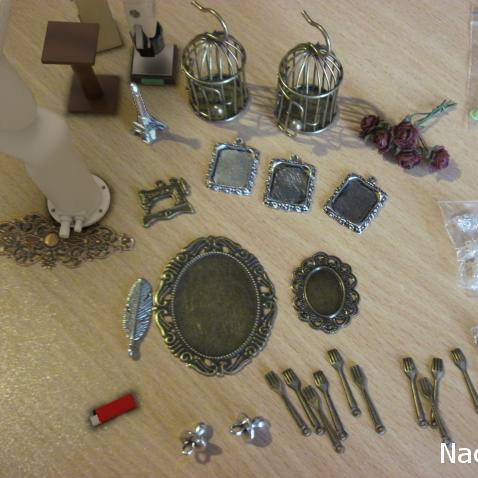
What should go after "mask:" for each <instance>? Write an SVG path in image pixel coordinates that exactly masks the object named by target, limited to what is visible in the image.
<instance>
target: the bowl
mask: <svg viewBox="0 0 478 478" xmlns="http://www.w3.org/2000/svg"><path fill="white" fill-rule="evenodd" d="M142 31H143V30H142ZM129 37H130V39H131V43H132V47H133V46H134V48H135V49H136V51H137V52H139V50H138V48H137V47H136V36H135V37H134V36H133V35H132V34H131V32H130V31H129ZM143 41H144V42H147V39H146V37H143ZM150 42H151V43H152V45H153V48H154V52H155V55H158V54H159V53H161V52H162V51H163V49H164V47H165V44H166V36H165V32H164V27H163V26H162V24H161V23H160V21H159V20H157V25H156V33H155V36H154V37H153V38H150Z"/></svg>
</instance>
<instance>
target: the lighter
mask: <svg viewBox="0 0 478 478" xmlns="http://www.w3.org/2000/svg"><path fill="white" fill-rule="evenodd" d="M136 407H137V405H136V402H135V399H134V397H133V394H132V393H131V392H130V393H128V394H126V395H124V396H121V397H119V398H117V399H115V400H112V401H110V402H108V403H106V404H104V405H101V406H99V407H98V408H95V409H93V410H92V415H91V416H90V417H89V419H90V421H91V424H92V426H93V427H96V426H98V425H100V424H103V423H105V422H107V421H109V420H111V419H113V418H115V417H118V416H119V415H122V414H124V413H126V412H128V411H130V410H133V409H135V408H136Z"/></svg>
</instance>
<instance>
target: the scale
mask: <svg viewBox="0 0 478 478" xmlns="http://www.w3.org/2000/svg"><path fill="white" fill-rule="evenodd" d="M132 47H133V48H132V55H131V56H132V57H131V63H130V66H131V67H130V73H129V74H130V75H129V78H130V81H131V83H141V85H149V86H164V85H165V84H168V85H169V84H170V85H171V84H172V85H175V84H176V76H177V61H178V45H177V44H174V43H165V47H164V49H163V51H162V52H161V53H159V54H158V55H155V57H141V56H140V53H139V52H137V51H136V49H135V48H134V46H133V45H132ZM133 81H134V82H133Z"/></svg>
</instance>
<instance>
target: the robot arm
mask: <svg viewBox="0 0 478 478" xmlns="http://www.w3.org/2000/svg"><path fill="white" fill-rule="evenodd" d="M117 1H119V2H122V6H123V10H124V15H125V18H126V23H127V26H128V28H129V33H130V32H131V34H132V35H133V36H134V37H135V36H136V47H137V48H138V50H139V53H140V56H141V57H155V52H154V48H153V45H152V43H151V42H150V38H153V37H154V36H155V33H156V25H157V21H158V12H159V4H158V0H117ZM11 13H12V0H0V153H1V154H4V155H6V156H9V157H11V158H14V159H17V160H20V161H22V162H23V165H24V170H25V172H26V174H27V175H28V176H29V178H30V179H31V180H32V181H33V182H34V184H35V185H36V186H37V187H38V189H39V190H40V191H41V192H42V194H43V195H44V196H45V197H46V198H47V201H46V202H47V209H48V213H49V214H50V215H51V217H52V218H53V219H54V220H55V221H56V222H57V223H59V224H60V227H59V233H58V237H60V238H63V239H69V238H70V235H71V228H72V229H73V231H74V232H75V233H81V232H82V229H83V228H86V227H89V226H92V225H94V224H96V223H98V222H99V221H100V220H101V219H102V218H103V217H104V216H105V215H106V213H108V210H109V208H110V206H111V205H110V204H111V192H110V190H109V187H108V185H107V184H106V183H105V181H104V180H103V179H101V177H99V176H97V175H95V174H93V173H91V171H90V169H89V168H88V166H87V165H86V163H85V162H84V160H83V158H82V156H81V155H80V153H79V151H78V149H77V147H76V146H75V143H74V141H73V137H72V132H71V131H72V130H71V127H70V125H69V122H68V121H67V120H66V119H65V118H64V117H63V116H62V115H60V114H59V113H57V112H56V111H54V110H51V109H49V108H47V107H45V106H42V105H38V103H37V99H36V98H35V95H34V93H33V91H32V90H31V88H30V86H29V85H28V83H27V82H26V80H25V79H23V77H22V76H21V75H20V74H19V72H18V71H17V69H16V68H14V66H13V65H12V64H11V62H10V61H9V60H8V58H7V57H6V56H5V54H4V45H5V39H6V35H7V31H8V27H9V22H10V18H11ZM142 30H143V31H142ZM143 37H146V39H147V42H144V41H143Z"/></svg>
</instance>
